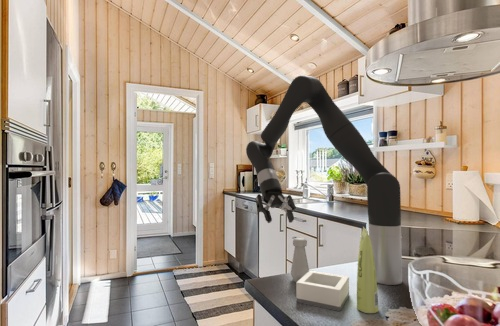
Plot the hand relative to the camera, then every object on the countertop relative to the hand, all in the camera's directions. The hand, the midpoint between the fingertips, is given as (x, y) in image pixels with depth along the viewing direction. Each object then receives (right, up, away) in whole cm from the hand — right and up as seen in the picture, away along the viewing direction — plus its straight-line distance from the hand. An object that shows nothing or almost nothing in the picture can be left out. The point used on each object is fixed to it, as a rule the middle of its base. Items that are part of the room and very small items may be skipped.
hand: (281, 221), depth 104 cm
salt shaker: (+5, -16, -11) cm, 20 cm away
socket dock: (+9, -16, -24) cm, 30 cm away
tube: (+18, -16, -30) cm, 39 cm away
